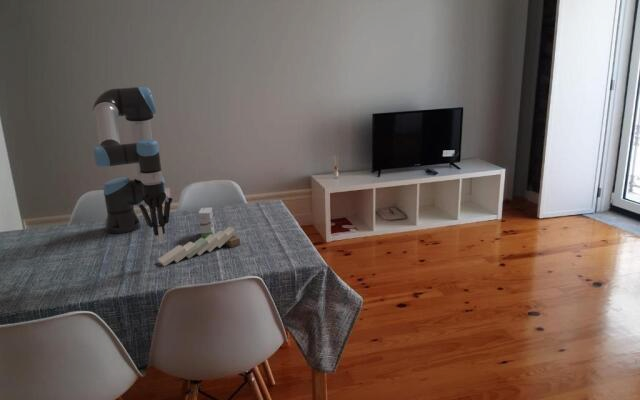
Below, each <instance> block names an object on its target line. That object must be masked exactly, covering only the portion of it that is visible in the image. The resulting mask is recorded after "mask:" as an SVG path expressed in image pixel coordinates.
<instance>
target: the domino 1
mask: <svg viewBox="0 0 640 400" xmlns="http://www.w3.org/2000/svg"><path fill="white" fill-rule="evenodd" d="M185 252H186V249H185V248H184V247H183V245H180V244H178V245H176V246H175V247H174V248H172V249H171V250H169V251H168V252H166V253H164V254H163V255H162V256H160V257H158V259H157V261H158V263H159V264H161V265H162V266H164V267H166V266H167V265H169V264H171V263H172V262H174V261H173V260H175V259H176V258H178V257H179V256H181V255H182V254H183V253H185Z"/></svg>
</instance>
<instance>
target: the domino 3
mask: <svg viewBox="0 0 640 400" xmlns="http://www.w3.org/2000/svg"><path fill="white" fill-rule="evenodd" d="M193 243H194V244H196V245H197V247H198V248H197V249H195V250H194V251H192V252H191V253H190V254H188V255H187V256H185V257H184V258H186V259H188V260H189V259H191V258H192V257H193V256H195V255H197V254H196V253H197V252H199V251H200V250H201V249H202V248H204V247H205V246H206V245H208V244H209V243H208V241H207V240H205V239H203V238H202V237H200V238H199V239H197V240H196V241H195V242H193Z"/></svg>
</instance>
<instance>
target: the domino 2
mask: <svg viewBox="0 0 640 400" xmlns="http://www.w3.org/2000/svg"><path fill="white" fill-rule="evenodd" d="M182 247H184V248H185V249H186V252H185V253H183V254H182V255H181V256H179V257H178V258H176V259H175V260H173V261H172V262H175V263H178V262H180V261H181V260H182V259H185V258H186V257H185V256H187V255H188V254H190V253H191V252H192V251H194V250H195V249H197V248H198V247H197V245H196V244H194V242H192V241H188V242H186V243H185V245H182Z"/></svg>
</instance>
